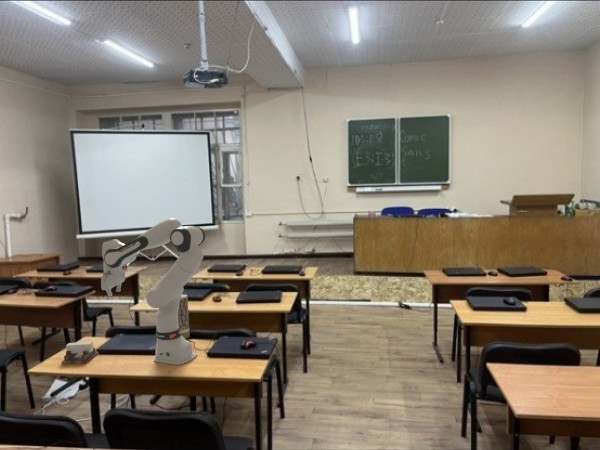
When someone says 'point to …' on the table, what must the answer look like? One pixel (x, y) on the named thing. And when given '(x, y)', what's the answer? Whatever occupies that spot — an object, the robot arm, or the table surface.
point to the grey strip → (80, 347)
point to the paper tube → (183, 316)
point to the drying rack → (79, 357)
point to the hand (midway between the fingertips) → (114, 293)
